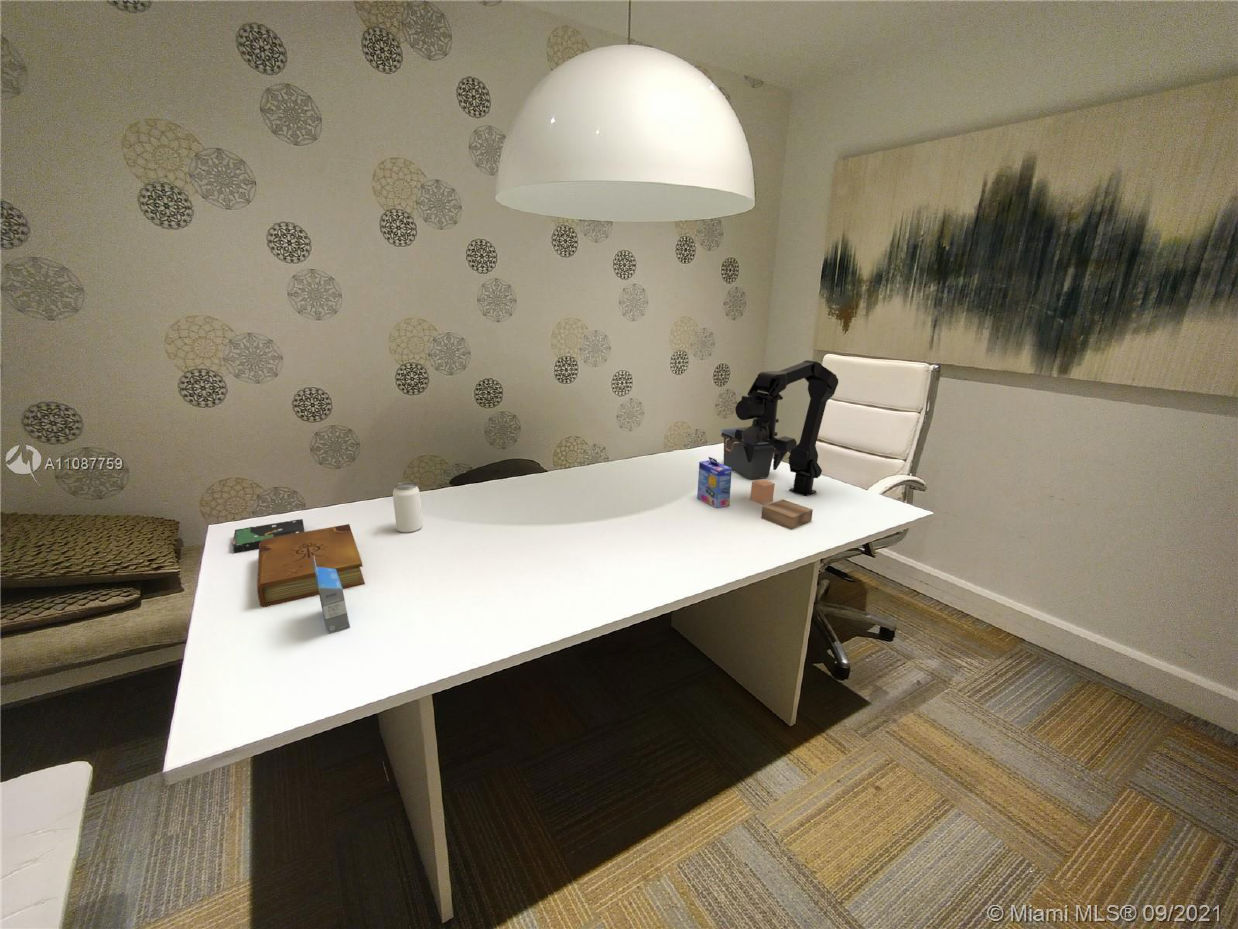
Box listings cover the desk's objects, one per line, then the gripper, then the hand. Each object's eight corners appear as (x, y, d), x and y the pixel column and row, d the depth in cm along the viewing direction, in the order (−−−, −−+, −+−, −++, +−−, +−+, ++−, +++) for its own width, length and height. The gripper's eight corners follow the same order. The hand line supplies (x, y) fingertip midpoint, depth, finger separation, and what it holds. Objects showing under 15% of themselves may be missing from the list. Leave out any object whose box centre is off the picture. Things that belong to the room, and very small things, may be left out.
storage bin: (779, 479, 190) (784, 440, 186) (744, 484, 184) (748, 444, 179) (742, 462, 208) (745, 426, 204) (709, 466, 202) (712, 429, 198)
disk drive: (304, 528, 142) (235, 539, 134) (302, 518, 141) (234, 528, 133) (306, 543, 133) (234, 555, 126) (305, 532, 133) (232, 545, 125)
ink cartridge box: (695, 498, 169) (698, 454, 165) (709, 495, 172) (712, 452, 168) (715, 508, 161) (719, 462, 157) (729, 505, 164) (734, 460, 160)
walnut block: (781, 511, 161) (783, 499, 160) (811, 522, 154) (812, 509, 153) (761, 519, 155) (762, 506, 154) (790, 530, 148) (792, 517, 147)
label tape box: (350, 628, 99) (342, 569, 96) (325, 635, 97) (316, 574, 93) (343, 605, 106) (335, 549, 103) (320, 611, 104) (311, 554, 100)
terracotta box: (759, 496, 172) (761, 478, 171) (772, 501, 169) (774, 483, 167) (750, 499, 169) (751, 481, 168) (763, 504, 166) (765, 486, 164)
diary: (262, 562, 123) (258, 539, 122) (352, 545, 133) (349, 523, 131) (261, 610, 105) (255, 583, 103) (365, 586, 114) (361, 561, 113)
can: (427, 528, 142) (423, 485, 139) (403, 535, 138) (399, 491, 134) (415, 521, 146) (411, 479, 143) (392, 528, 142) (387, 485, 138)
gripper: (723, 414, 160) (720, 463, 164) (776, 426, 146) (771, 479, 151) (747, 408, 166) (743, 456, 171) (800, 419, 152) (794, 471, 157)
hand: (761, 465), depth 162 cm, fingers open, 9 cm apart
